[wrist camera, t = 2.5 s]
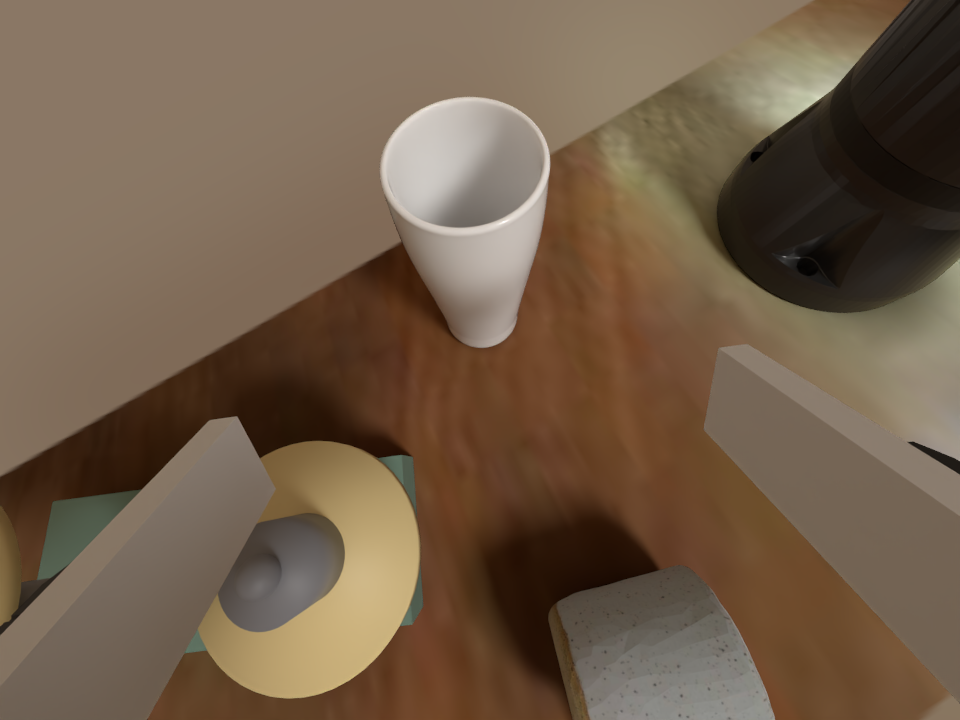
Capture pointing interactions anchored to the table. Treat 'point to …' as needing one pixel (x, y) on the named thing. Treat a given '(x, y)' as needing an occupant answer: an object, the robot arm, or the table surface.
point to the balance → (284, 569)
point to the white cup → (469, 208)
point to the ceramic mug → (655, 652)
